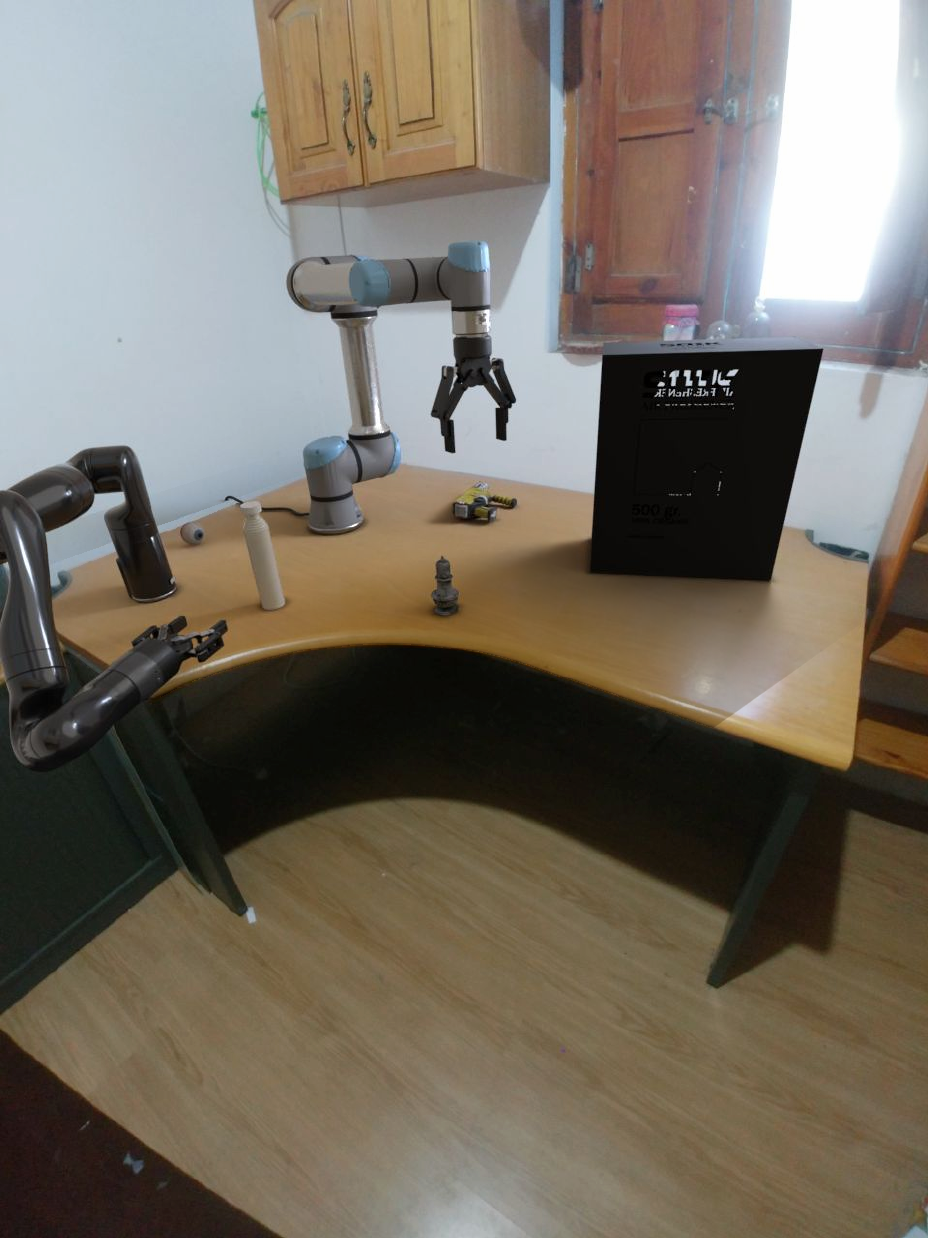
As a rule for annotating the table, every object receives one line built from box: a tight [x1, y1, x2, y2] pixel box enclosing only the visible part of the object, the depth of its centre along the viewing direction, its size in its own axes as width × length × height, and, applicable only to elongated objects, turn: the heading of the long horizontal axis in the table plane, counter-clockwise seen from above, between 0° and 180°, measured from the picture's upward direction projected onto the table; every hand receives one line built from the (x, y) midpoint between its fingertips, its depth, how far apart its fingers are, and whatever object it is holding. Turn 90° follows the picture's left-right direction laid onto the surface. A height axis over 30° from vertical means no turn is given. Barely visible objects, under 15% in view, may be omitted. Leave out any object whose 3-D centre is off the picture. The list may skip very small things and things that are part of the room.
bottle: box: [242, 513, 287, 611], centre depth 124 cm, size 5×5×22 cm
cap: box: [239, 500, 263, 516], centre depth 119 cm, size 4×4×2 cm
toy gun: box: [451, 480, 518, 523], centre depth 174 cm, size 5×24×15 cm
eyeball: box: [179, 521, 206, 546], centre depth 161 cm, size 6×6×6 cm
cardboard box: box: [589, 336, 824, 581], centre depth 128 cm, size 38×20×45 cm, turn 78°
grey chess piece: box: [430, 555, 461, 616], centre depth 121 cm, size 6×6×12 cm
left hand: (204, 622), depth 109 cm, fingers open, 8 cm apart
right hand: (476, 445), depth 127 cm, fingers open, 13 cm apart
